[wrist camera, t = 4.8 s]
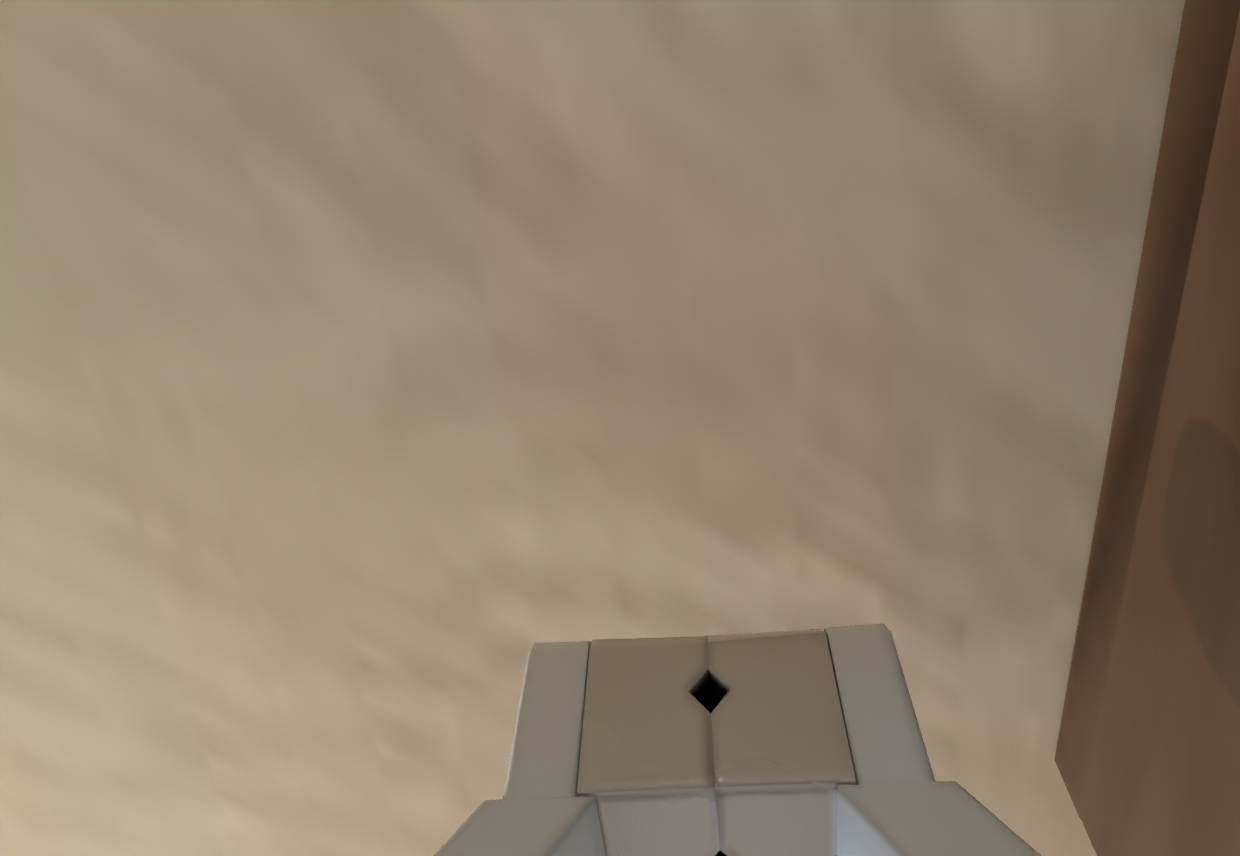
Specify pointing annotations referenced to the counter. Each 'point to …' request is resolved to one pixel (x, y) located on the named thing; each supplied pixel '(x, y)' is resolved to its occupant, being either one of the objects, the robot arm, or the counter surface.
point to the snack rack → (1171, 501)
